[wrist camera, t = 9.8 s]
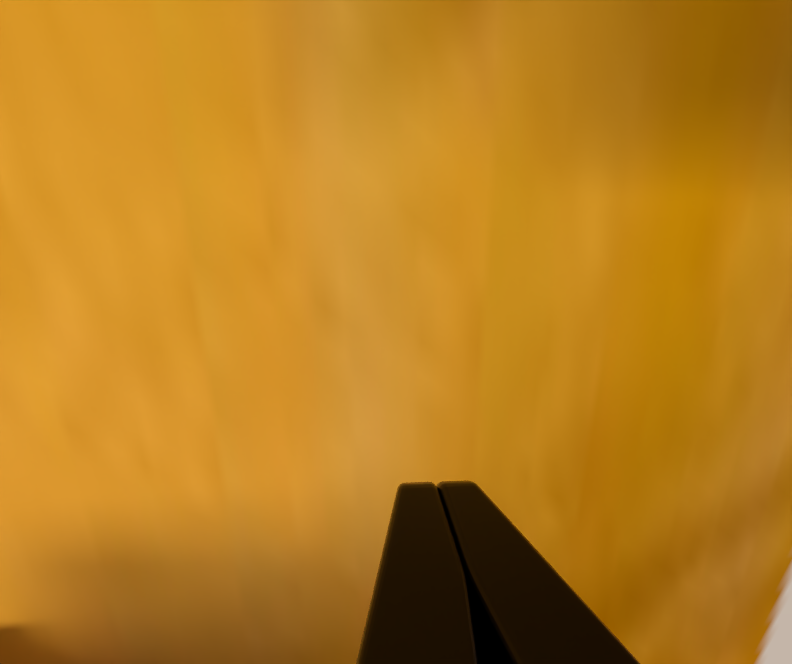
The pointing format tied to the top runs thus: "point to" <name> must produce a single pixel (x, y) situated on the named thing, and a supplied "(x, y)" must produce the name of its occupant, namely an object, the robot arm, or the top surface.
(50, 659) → the top surface
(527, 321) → the top surface
